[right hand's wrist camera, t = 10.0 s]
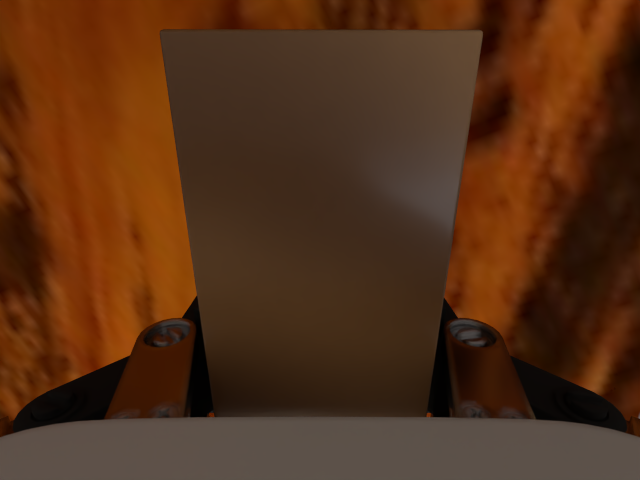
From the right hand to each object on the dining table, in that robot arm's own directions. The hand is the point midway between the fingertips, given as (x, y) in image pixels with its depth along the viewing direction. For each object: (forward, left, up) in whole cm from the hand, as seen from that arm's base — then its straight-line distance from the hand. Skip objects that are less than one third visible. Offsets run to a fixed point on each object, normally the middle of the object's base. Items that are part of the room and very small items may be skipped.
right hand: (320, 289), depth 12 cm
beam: (+21, -9, -2) cm, 23 cm away
